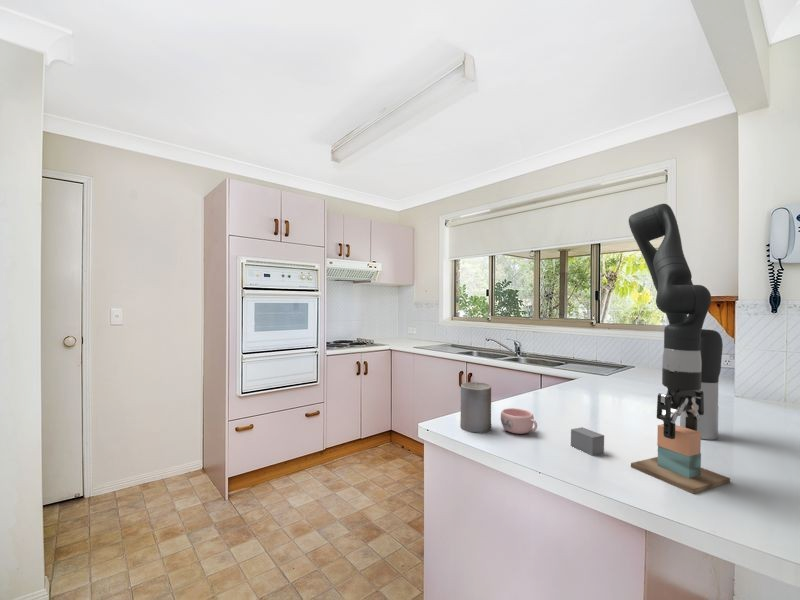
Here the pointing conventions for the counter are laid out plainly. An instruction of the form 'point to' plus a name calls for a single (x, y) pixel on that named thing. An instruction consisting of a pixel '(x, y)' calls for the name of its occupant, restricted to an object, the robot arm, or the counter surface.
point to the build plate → (679, 479)
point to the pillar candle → (475, 407)
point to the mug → (517, 420)
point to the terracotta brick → (681, 440)
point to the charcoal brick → (587, 441)
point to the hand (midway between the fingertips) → (680, 435)
